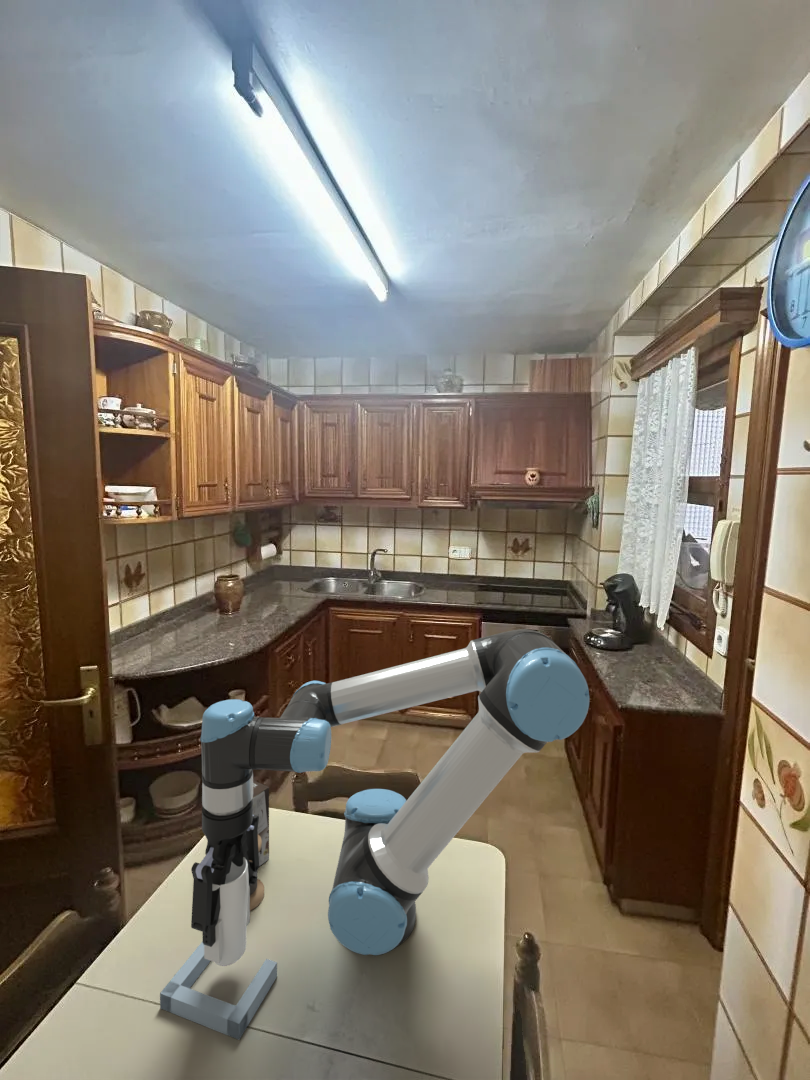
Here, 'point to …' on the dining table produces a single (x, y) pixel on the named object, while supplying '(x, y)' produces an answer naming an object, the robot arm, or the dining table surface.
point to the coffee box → (262, 817)
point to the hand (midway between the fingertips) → (227, 939)
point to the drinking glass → (234, 912)
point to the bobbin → (256, 886)
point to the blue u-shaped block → (209, 1008)
